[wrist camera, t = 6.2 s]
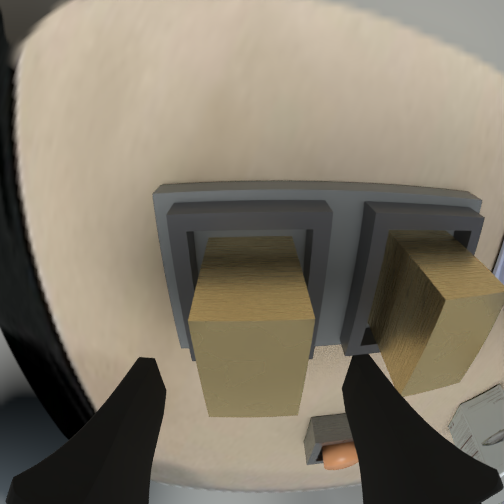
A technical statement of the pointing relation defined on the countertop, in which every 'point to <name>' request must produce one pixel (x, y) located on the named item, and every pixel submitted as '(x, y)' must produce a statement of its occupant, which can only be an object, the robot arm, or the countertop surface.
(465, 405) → the supplement box
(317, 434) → the button housing
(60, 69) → the countertop surface
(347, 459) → the button
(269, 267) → the block
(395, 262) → the block
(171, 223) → the tray
